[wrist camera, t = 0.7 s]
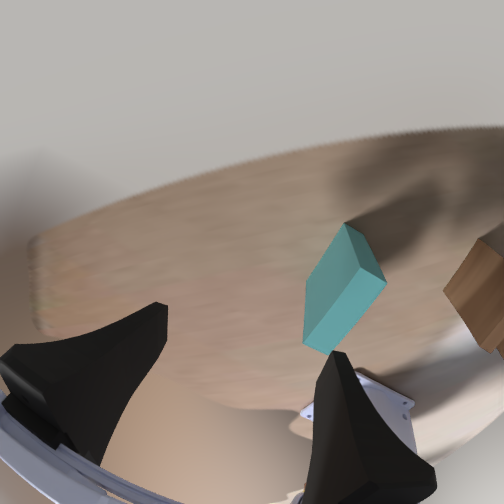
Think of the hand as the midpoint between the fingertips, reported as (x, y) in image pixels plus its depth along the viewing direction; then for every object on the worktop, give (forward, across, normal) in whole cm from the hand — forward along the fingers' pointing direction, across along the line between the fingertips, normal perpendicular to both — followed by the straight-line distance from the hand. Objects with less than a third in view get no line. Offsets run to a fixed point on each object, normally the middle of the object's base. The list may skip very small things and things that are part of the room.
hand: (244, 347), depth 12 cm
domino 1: (+10, -4, -1) cm, 10 cm away
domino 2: (+10, -15, -3) cm, 18 cm away
